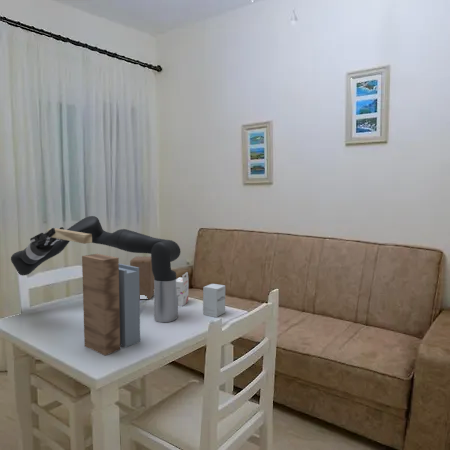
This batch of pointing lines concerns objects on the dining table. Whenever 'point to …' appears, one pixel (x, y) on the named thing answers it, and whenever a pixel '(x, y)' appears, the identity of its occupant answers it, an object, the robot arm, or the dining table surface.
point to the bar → (72, 236)
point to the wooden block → (144, 275)
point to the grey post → (129, 305)
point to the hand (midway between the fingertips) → (58, 229)
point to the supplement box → (214, 300)
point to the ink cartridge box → (182, 289)
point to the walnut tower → (101, 303)
